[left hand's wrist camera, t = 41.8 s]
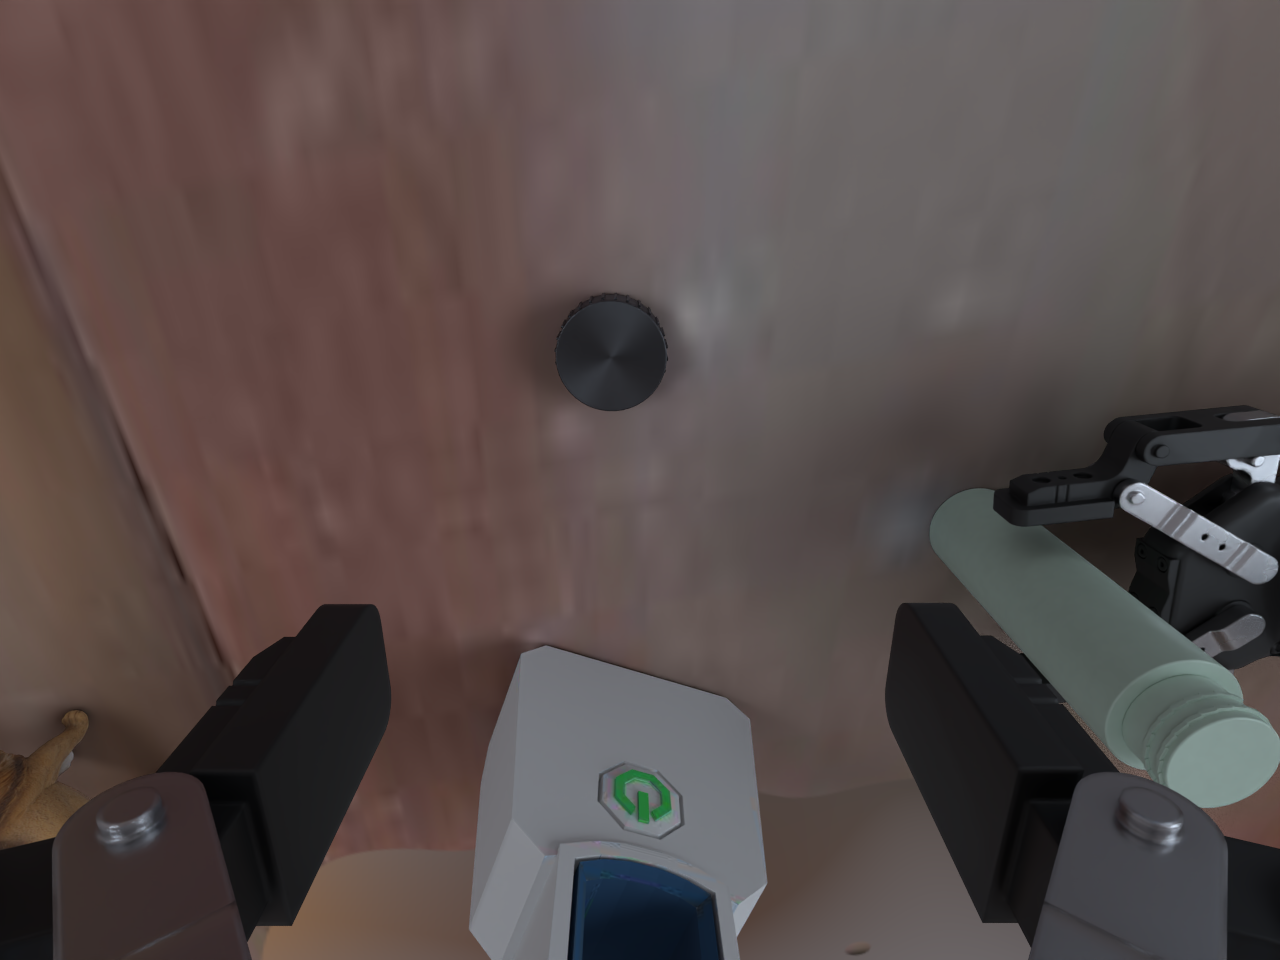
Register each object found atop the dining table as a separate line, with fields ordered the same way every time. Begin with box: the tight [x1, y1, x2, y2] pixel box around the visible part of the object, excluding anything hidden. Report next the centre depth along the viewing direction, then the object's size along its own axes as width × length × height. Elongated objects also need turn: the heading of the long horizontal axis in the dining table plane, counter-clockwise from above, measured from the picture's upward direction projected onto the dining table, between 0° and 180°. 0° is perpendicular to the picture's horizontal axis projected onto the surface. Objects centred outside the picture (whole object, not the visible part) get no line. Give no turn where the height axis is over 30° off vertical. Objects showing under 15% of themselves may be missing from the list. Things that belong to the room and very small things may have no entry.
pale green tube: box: [929, 488, 1280, 808], centre depth 29 cm, size 4×4×16 cm
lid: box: [555, 293, 668, 411], centre depth 32 cm, size 5×5×2 cm
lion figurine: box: [0, 710, 90, 850], centre depth 36 cm, size 15×5×9 cm, turn 49°
